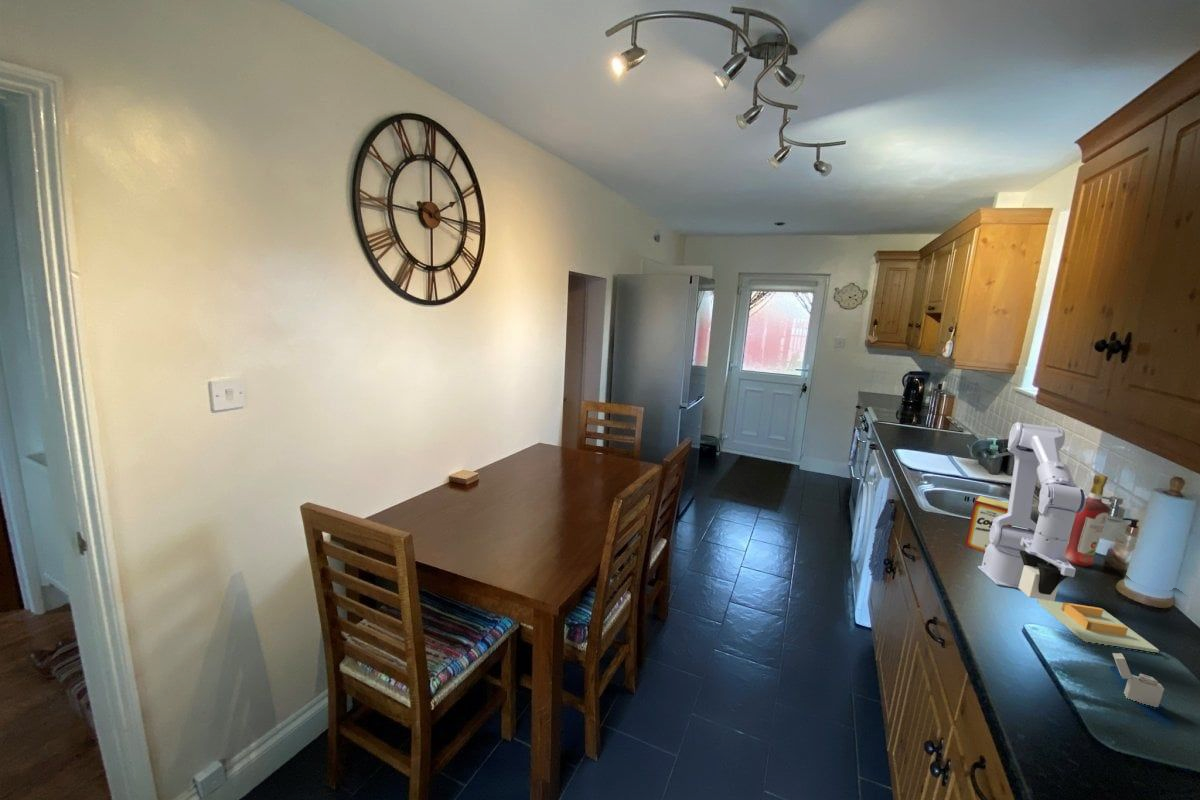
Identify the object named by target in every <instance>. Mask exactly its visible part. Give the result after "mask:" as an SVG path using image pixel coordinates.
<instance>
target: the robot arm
mask: <svg viewBox="0 0 1200 800" xmlns="http://www.w3.org/2000/svg"><path fill="white" fill-rule="evenodd" d="M1065 438H1066V434H1065V431H1064V430H1063V428H1062V427H1060V426H1059V427H1057V426H1056V427H1053V426H1047V425H1040V424H1039V425H1038V424H1033V423H1024V422H1023V423H1022V422H1019V421H1017V422H1015V423H1013V425H1012V426H1011V428H1010V431H1009V435H1008V442H1007V451H1008V452H1009V453H1011V454H1013V455H1014V456H1013V457H1014V465H1013V471H1012V478H1011V485H1010V490H1009V499H1008V503H1009V505H1008V512H1007V513H1006V514H1004V515H1001V516H998V517H996V518H994V520H993V523H992V526H991V529H990V533H989V540H990V542H991V543H990V544H989V545H988V546H987V547H986V549H985V553H984V554H983V559H982V561H981V562H982V563H981V565H978V566H977V568H978V569H979V570H980V571H981V572H982V573H983V574H984V575H986V576H987V577H988V578H989V579H990V580H991V581H992V582H994V583H995V585H998V586H1003V587H1009V588H1017V589H1019V588H1018V587H1019V583H1020V579H1021V575H1022V571H1023V568H1024V565H1026V566H1033V567H1038V568H1039V574H1040V579H1039V586H1038V590H1039V592H1040V593H1041V594H1047V595H1051V593H1052V592H1053V591H1054V589H1055V588H1056V587H1057V586H1058V584H1059V585H1060V583H1062V582H1063V581H1064V580H1065V579H1067V578H1069V577H1071V578H1074V577H1075V574H1076V572H1077V571H1076V570H1077V568H1075V567H1074V566H1073V565H1072V563H1070V562H1069V561H1068V560H1067V559H1066V557H1065V552H1066V549H1067V545H1068V541H1069V538H1070V534H1071V530H1072V527H1073V523H1074V520H1075V516H1076V513H1080V512H1082V510H1083V509H1084V506H1085V503H1086V498H1087V496H1086V495H1087V494H1086V491H1085V489H1084V488H1083V487H1081V486H1080V485H1079V484H1076V483H1075V482H1074V478H1073V476H1072V473H1071V470H1070V468H1069V466H1068V465H1067V464H1065V463H1064V462H1061V457H1060V456H1061V455H1060V450H1061V449H1063V448H1062V447H1063V446H1064V444H1065V440H1066V439H1065ZM1038 464H1039V465H1038ZM1037 477H1038V480H1039V483H1040V484H1039V485H1040V487H1041V488H1040V490H1039V495H1038V496H1039V497H1038V499H1039V503H1038V507H1037V508H1038V509H1037V510H1038V517H1037V522H1035V521H1034V520H1032V519H1031V517H1032V516H1031V515H1032V509H1033V502H1034V494H1035V487H1036V479H1037ZM1075 512H1076V513H1075ZM1005 524H1010V525H1012V527H1011V526H1006V525H1005ZM1023 528H1024V529H1023ZM1058 587H1059V586H1058Z"/></svg>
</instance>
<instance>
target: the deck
mask: <svg viewBox="0 0 1200 800" xmlns="http://www.w3.org/2000/svg"><path fill="white" fill-rule="evenodd" d="M1037 603H1038V604H1039V605H1040V606H1041V607H1042V608H1044V610H1046V611H1047V612H1048V613H1049V614H1050V615H1052V616H1053V617H1054V618H1055V619H1056V620H1057V621H1059V622H1060V623H1061V624H1062V625H1063V626H1064V627H1066V628H1067V629H1068V630H1070V632H1072V633H1073V634H1074V635H1075V636H1076V637H1078V638H1079V639H1080V640H1081V639H1082V640H1083V641H1085V642H1084V643H1088V642H1091V643H1090V644H1095V643H1098V644H1097V645H1101V644H1104V645H1103V646H1107V645H1113V646H1120V647H1126V648H1133V649H1140V650H1145V651H1151V652H1158V653H1159V652H1160V649H1158V648H1157V647H1156V646H1154V644H1152V643H1150V642H1149V641H1148V640H1146V639H1145V638H1144V637H1142V636H1141V635H1139V634H1138V633H1137V632H1135V631H1134V630H1132V628H1130V627H1128V626H1127V625H1125V623H1123V622H1121V621H1120V620H1119V619H1118V618H1116V617H1114V616H1113V615H1112V614H1111V613H1109V612H1107V610H1105V609H1104V608H1101V607H1097V606H1091V605H1090V606H1088V605H1083V604H1076V603H1070V602H1062V601H1061V602H1060V601H1056V600H1054V601H1049V600H1043V599H1037ZM1082 640H1081V641H1082ZM1113 646H1112V647H1113Z"/></svg>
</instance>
